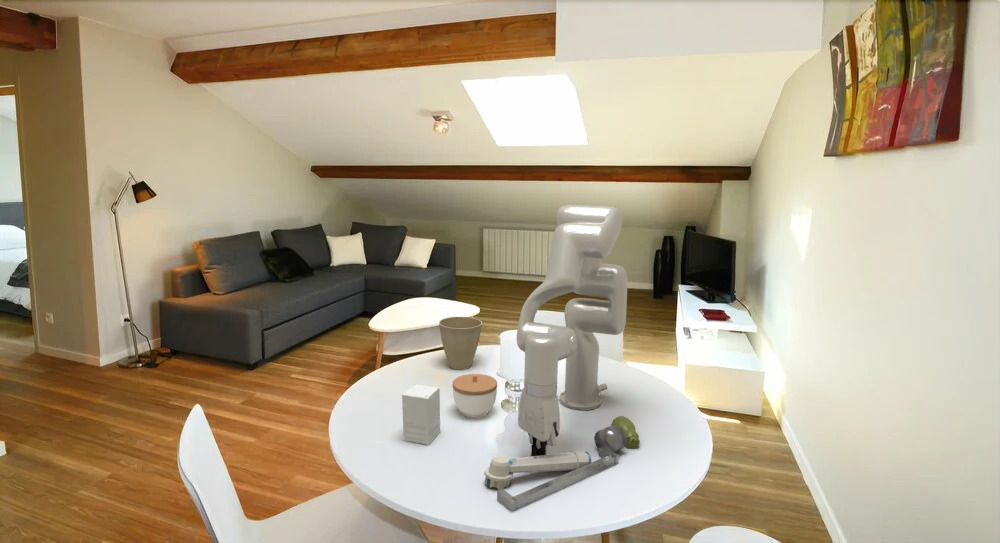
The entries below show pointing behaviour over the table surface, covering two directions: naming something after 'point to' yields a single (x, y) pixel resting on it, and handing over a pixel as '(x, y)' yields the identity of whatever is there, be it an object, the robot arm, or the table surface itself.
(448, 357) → the plant pot
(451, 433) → the table surface
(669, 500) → the table surface
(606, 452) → the ladle
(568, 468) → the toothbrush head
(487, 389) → the lidded bowl
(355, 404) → the table surface
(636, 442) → the pear
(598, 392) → the robot arm
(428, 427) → the supplement box
